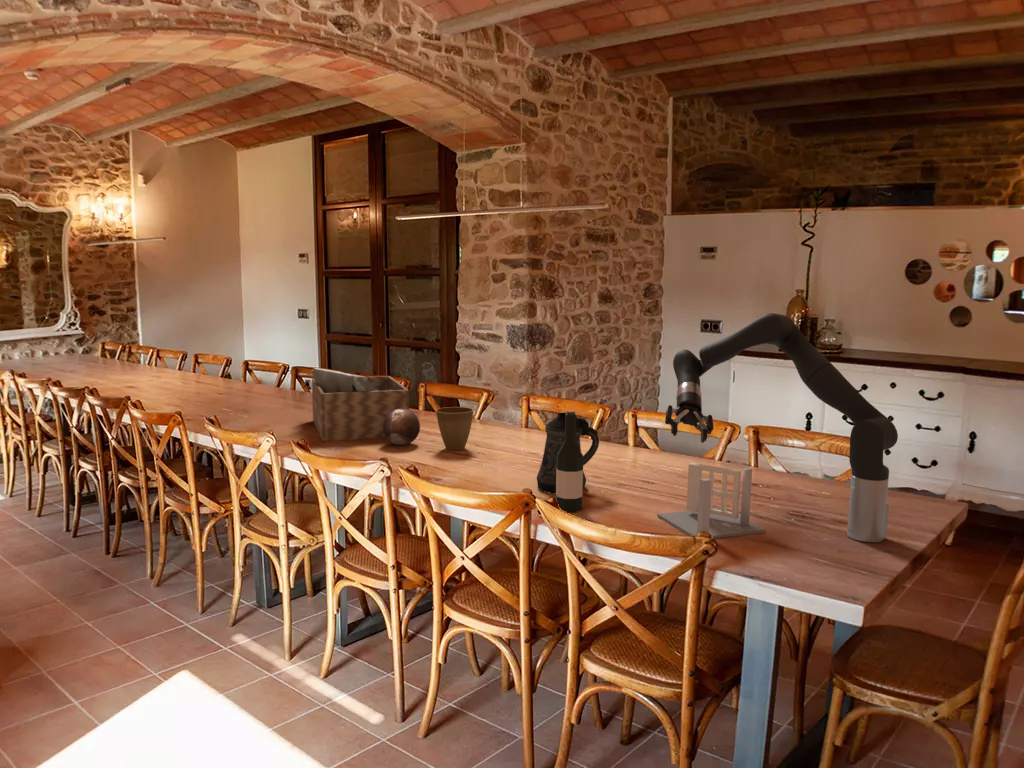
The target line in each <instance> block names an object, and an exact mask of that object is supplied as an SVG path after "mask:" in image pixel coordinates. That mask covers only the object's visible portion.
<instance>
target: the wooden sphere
mask: <svg viewBox="0 0 1024 768" xmlns="http://www.w3.org/2000/svg"><path fill="white" fill-rule="evenodd" d="M420 430H421V423H420V420H419V417H418V416H417V414H415V412H414V411H412V410H410V409H409V410H408V409H403V408H400V409H395V410H393V411H391V412H390V413H389V414H388V415H387V416H386V418H385V420H384V423H383V431H384V434H385V436H386V437H385V438H386V439H387V440H388V441H389V442H390V443H392V444H393V445H397V446H404V445H409V444H411V443H412V442H414V441H415V440H416V439H417V437H418V436H419V434H420Z"/></svg>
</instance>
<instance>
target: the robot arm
mask: <svg viewBox="0 0 1024 768" xmlns="http://www.w3.org/2000/svg"><path fill="white" fill-rule="evenodd" d="M763 344H764V345H766V344H767V345H773V346H775V347H778V348H779V349H780V350H781V351H782V352H783V353H784V354H785V355H787V357H789V359H790V360H791V361H792V362H793V364H794V366H795V368H796V371H797V373H798V375H799V377H800V379H801V381H802V382H803V383H804V385H805V386H806V387H807V388H808V389H809V391H811V392H812V393H813V394H814V396H815V397H816V398H817V399H819V400H821V401H822V402H823V403H825V404H826V405H828V406H829V407H831V408H833V409H835V410H837V411H838V412H840V413H841V414H843V415H844V416H846V417H847V418H848V419H849V420H850V421H851V422H852V423H853V424H854V425H853V427H852V429H851V432H850V437H849V460H848V461H849V465H850V468H851V476H850V487H849V488H850V489H849V490H850V491H849V504H848V515H847V518H848V519H847V529H846V535H847V537H849V538H850V539H852V540H855V541H859V542H865V543H880V542H882V541H883V540H885V539H887V534H888V524H889V511H890V505H889V504H888V503H887V500H888V499H887V498H888V490H889V489H888V488H889V479H890V469H889V467H888V466H886V465H885V464H884V451H886V450H889V449H892V448H893V447H894V446H896V444H897V441H898V438H899V435H898V429H897V428H896V426H895V424H894V423H893V422H892V421H891V420H890V419H889V418H888V417H887V416H886V415H884V414H883V413H882V412H881V411H879V410H878V409H877V408H876V407H875V406H874V405H873V404H871V403H870V402H869V401H868V400H867V399H866V397H864V396H863V395H862V394H861V393H860V392H859V391H858V390H857V389H856V388H855V387H854V386H853V384H851V383H850V382H849V380H847V379H846V377H845V376H844V375H843V374H842V373H841V372H840V371H839V370H838V369H837V368H836V367H835V366H834V365H833V364H832V362H830V361H829V360H828V359H827V358H826V357H825V356H824V355H823V354H822V353H821V352H820V351H819V350H818V349H817V348H816V347H815V346H814V345H813V344H811V343H810V341H809V340H808V339H807V338H806V336H805V335H804V333H803V332H802V331H801V329H800V328H799V327H798V326H797V324H796V323H795V322H794V321H793V319H792V318H790V317H788V316H787V315H784V314H782V313H781V314H780V313H774V312H769V313H766V314H763V315H762V316H760V317H758V318H756V319H755V320H754V321H752V322H751V323H749V324H748V325H745V326H744V327H742V328H740V329H739V330H737V331H735V332H734V333H732V334H729V335H728V336H725V337H723V338H720V339H718V340H716V341H714V342H711V343H709V344H707V345H704V346H702V347H701V348H700V350H699V351H698V355H699V358H700V359H699V358H698V357H697V356H696V355H695V354H694V353H693V352H692V351H691V350H688V349H681V350H679V351H678V352H676V354H675V355H674V357H673V360H672V361H673V362H672V366H673V369H674V370H673V371H674V374H675V378H676V381H677V390H676V391H677V392H676V396H675V397H676V408H674V407H673V405H671V404H669V405H668V407H667V409H666V412H665V419H664V423H665V425H669V426H670V429H671V430H670V433H671V435H672V436H674V437H676V436H677V434H678V430H679V429H678V427H679V425H680V424H681V423H682V424H683V425H689V426H692V427H694V428H695V430H697V431H699V432H700V442H701V443H702V444H703V443H704V442H706V441H707V439H708V435H711V434H712V432H713V430H714V429H715V428H714V420H713V418H714V417H713V415H712V414H708V415H704V414H703V410H702V409H703V407H702V405H703V404H702V392H701V377H702V376H703V375H705V373H706V372H708V371H709V370H711V369H712V368H713V367H716V366H717V365H721V364H722V363H725V362H727V361H730V360H731V359H734V358H735V357H736V356H737V355H739V354H740V353H742V352H743V351H744V350H747V349H750V348H752V347H754V346H759V345H760V346H761V345H763ZM674 414H675V418H672V417H673V415H674Z"/></svg>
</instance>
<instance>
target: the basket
mask: <svg viewBox="0 0 1024 768" xmlns="http://www.w3.org/2000/svg"><path fill="white" fill-rule="evenodd" d="M312 374H313V375H312V376H313V377H312V378H313V379H314V380H315V383H317V384H318V385H319V386H320V388H321V389H322V391H323V392H324V393H342V392H367V391H378V390H375V389H374V388H373V386H372V385H371V383H370V378H369V377H370V376H363V375H358V374H351V373H346V372H341V371H337V370H331V369H327V368H319V367H313V368H312ZM389 391H391V390H389Z"/></svg>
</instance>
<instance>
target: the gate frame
mask: <svg viewBox="0 0 1024 768" xmlns="http://www.w3.org/2000/svg"><path fill="white" fill-rule="evenodd" d="M752 479H753V469H752V468H749V467H743V469H742V488H741V506H740V515H738V518H737V519H734V518H730V517H725V516H720V515H715V514H710V499H711V480H710V479H709V477H707V478H706V477H705V478H702V479H700V483H699V504H698V512H692V511H687V510H683V511H682V510H681V511H673V512H672V511H671V512H663V513H657V516H658V517H657V518H659V517H660V518H659V519H661V520H662V519H663V520H662V521H664V520H665V521H664V522H666V523H667V522H668V524H669V525H670V526H672V527H674V528H676V529H677V530H679V531H680V532H681V533H684V534H686V535H687V536H689V535H696V534H698V533H699V532H701V531H708V532H710V533H711V535H712V536H713V538H714V539H721V538H722V537H723V538H729V536H731V537H738V536H737V535H740V536H747V535H746V534H748V535H755V533H756V534H764V533H763V532H765V533H766V529H765V528H764V527H762V526H759V525H757V524H755V523H754V522H752V521H750V514H751V501H752V499H751V497H752ZM712 509H717V510H721V506H720V507H712ZM725 511H727V512H731V511H729V510H727V509H725Z"/></svg>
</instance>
